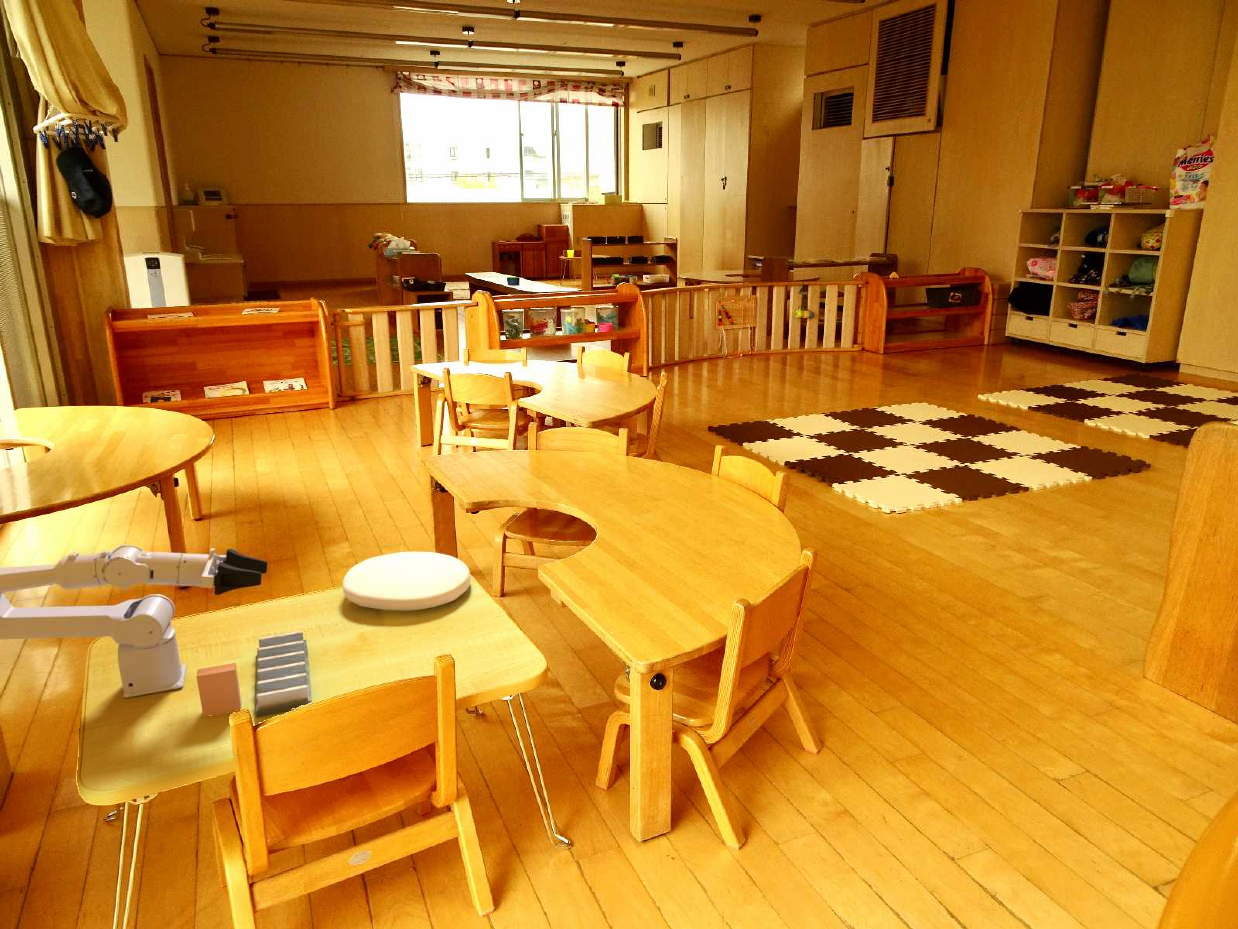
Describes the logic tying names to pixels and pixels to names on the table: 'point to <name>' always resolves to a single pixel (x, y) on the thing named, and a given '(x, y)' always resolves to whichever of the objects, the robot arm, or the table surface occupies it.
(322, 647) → the table surface
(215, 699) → the tile
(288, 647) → the rack
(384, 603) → the white round disc
